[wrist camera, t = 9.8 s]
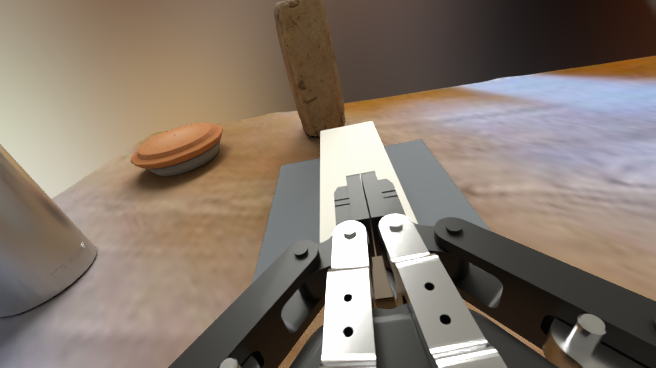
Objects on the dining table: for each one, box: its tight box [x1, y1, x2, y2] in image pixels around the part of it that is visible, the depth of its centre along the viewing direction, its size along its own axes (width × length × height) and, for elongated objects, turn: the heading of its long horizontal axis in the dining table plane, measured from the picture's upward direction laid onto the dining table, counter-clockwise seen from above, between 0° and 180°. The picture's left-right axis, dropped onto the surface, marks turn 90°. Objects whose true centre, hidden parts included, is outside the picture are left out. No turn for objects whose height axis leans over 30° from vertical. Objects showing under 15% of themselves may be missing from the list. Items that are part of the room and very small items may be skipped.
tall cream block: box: [320, 121, 418, 299], centre depth 25 cm, size 6×6×18 cm
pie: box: [131, 123, 223, 176], centre depth 49 cm, size 16×16×5 cm
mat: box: [253, 139, 490, 282], centre depth 30 cm, size 20×22×1 cm
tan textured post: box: [274, 0, 345, 137], centre depth 45 cm, size 11×8×20 cm
